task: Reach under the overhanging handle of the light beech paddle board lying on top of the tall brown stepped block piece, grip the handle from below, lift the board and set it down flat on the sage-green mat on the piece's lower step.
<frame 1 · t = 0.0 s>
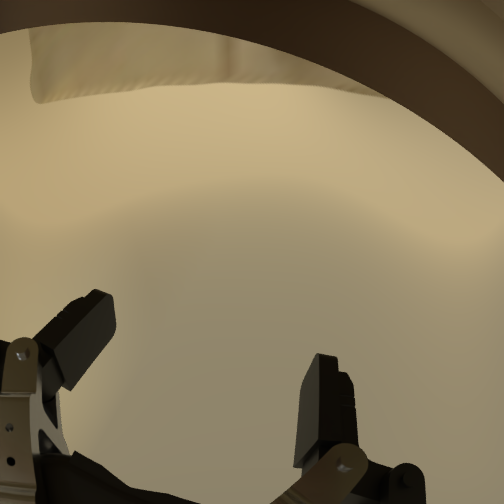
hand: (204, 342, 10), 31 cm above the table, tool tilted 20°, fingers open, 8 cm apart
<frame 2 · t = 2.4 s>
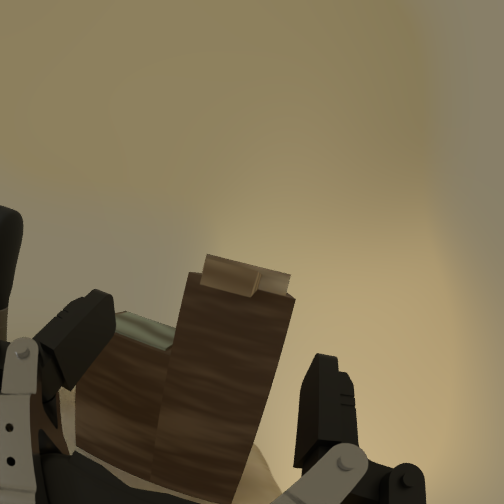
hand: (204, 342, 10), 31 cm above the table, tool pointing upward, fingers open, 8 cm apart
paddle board: (246, 284, 38), point 32 cm above the table, touching brown stepped block piece
brown stepped block piece: (199, 470, 36), on the table
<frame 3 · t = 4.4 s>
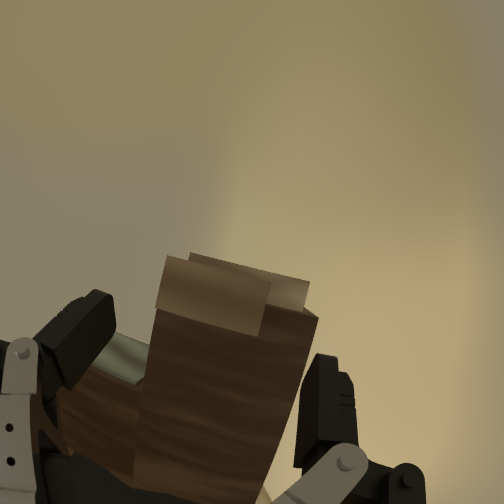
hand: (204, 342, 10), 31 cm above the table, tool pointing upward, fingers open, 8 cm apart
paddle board: (246, 294, 28), point 32 cm above the table, touching brown stepped block piece
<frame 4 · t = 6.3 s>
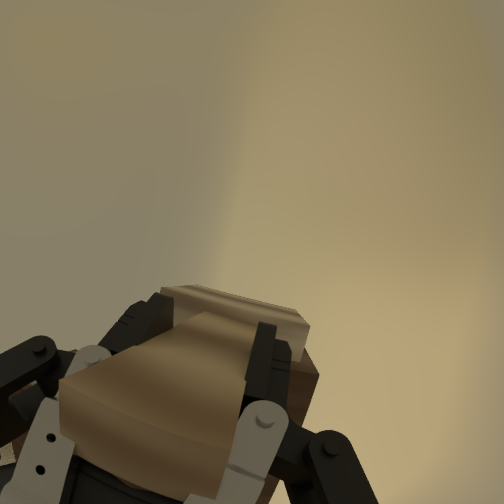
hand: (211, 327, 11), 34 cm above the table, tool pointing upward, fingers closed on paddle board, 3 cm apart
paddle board: (233, 331, 23), point 32 cm above the table, touching gripper, brown stepped block piece
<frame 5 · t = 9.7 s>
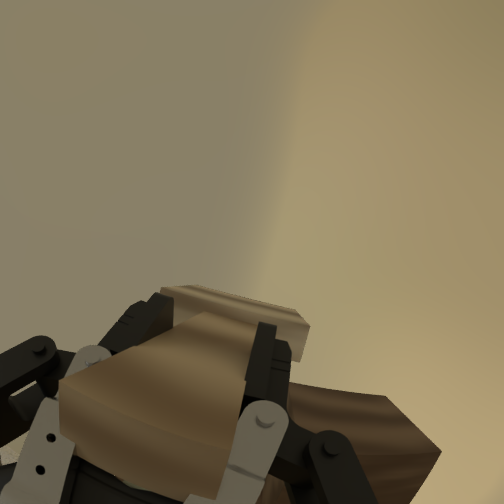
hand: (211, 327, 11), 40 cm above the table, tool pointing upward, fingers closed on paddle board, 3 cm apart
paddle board: (233, 331, 23), point 37 cm above the table, touching gripper
when the fingers open (26 cm above the table, at t = 13.2 s): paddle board drops 1 cm, resting on brown stepped block piece.
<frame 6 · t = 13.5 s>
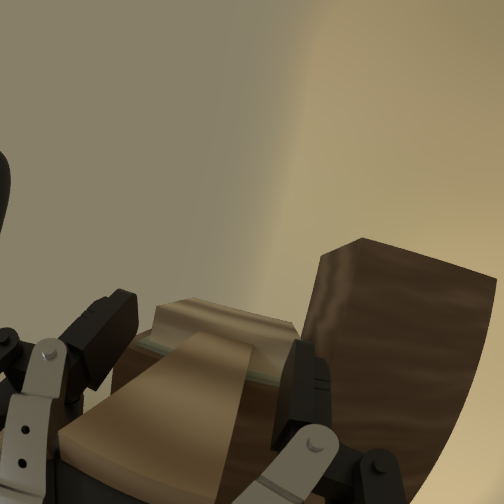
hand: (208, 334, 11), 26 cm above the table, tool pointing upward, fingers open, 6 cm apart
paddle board: (229, 346, 23), point 22 cm above the table, touching brown stepped block piece
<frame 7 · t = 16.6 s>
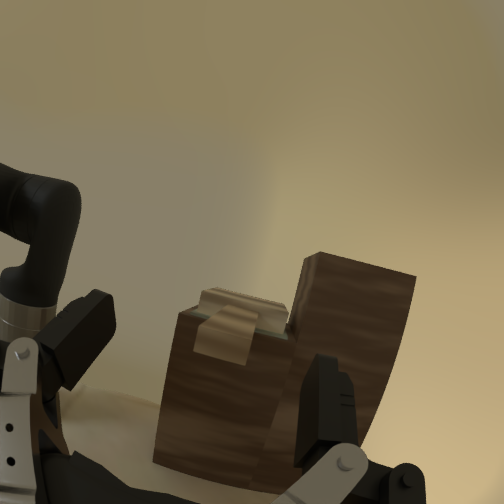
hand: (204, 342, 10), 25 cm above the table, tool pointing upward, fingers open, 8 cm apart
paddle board: (243, 317, 37), point 22 cm above the table, touching brown stepped block piece
brown stepped block piece: (288, 468, 34), on the table
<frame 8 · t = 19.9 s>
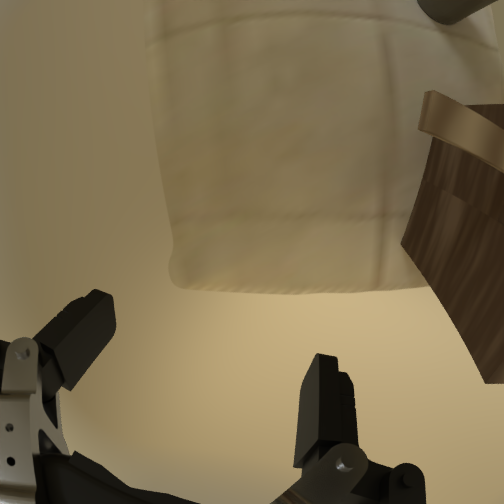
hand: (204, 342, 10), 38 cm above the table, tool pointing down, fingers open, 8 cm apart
brown stepped block piece: (443, 223, 42), on the table
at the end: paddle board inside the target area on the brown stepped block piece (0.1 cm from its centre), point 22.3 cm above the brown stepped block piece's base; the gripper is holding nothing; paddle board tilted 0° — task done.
